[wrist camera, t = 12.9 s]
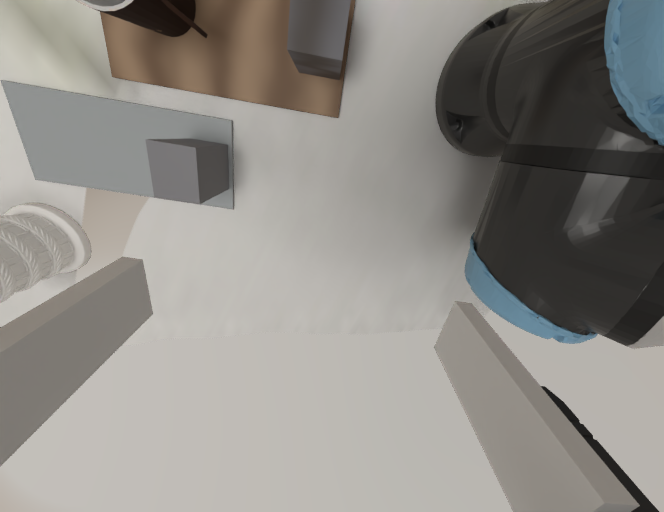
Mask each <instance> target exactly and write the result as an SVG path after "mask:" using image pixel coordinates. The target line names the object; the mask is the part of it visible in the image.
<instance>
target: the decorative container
mask: <svg viewBox="0 0 664 512" xmlns="http://www.w3.org/2000/svg"><path fill="white" fill-rule="evenodd" d="M90 255H91V246H90V242H89V239H88V237H87V235H86V233H85V232H84V231H83V229H82V228H81V226H80V225H79V224H78V223H77V222H76V221H75V220H73V219H72V218H71V217H70V216H68V215H67V214H65V213H64V212H62V211H61V210H59V209H56V208H54V207H52V206H49V205H45V204H41V203H27V204H23V205H19V206H15V207H12V208H10V209H9V210H8V211H7V212H6V213H5V215H3V216H0V303H2V302H3V301H5V300H7V299H8V298H9V297H10V296H12V295H13V294H14V293H15V292H19V291H23V290H27V289H29V288H31V287H33V286H34V285H35V284H36V283H38V282H39V281H40V280H44V279H48V278H51V277H53V276H55V275H56V274H57V273H68V272H72V271H75V270H77V269H79V268H81V267H82V266H84V265H85V264H86V263H87V262H88V260H89V259H90Z"/></svg>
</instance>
